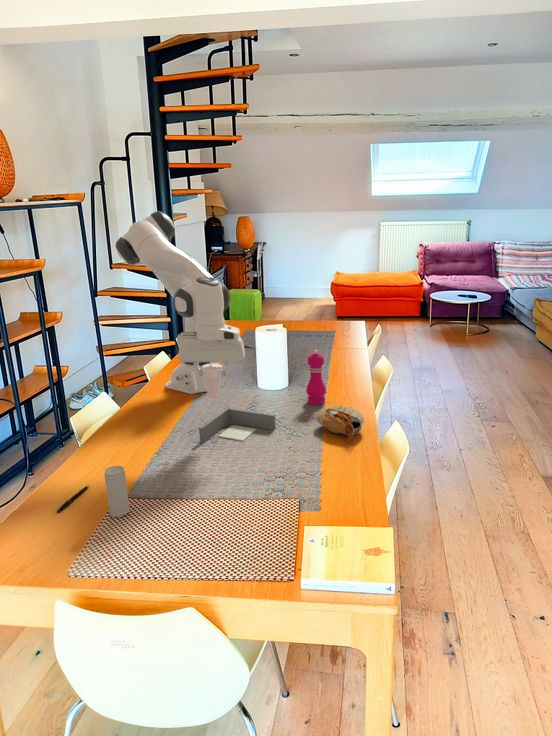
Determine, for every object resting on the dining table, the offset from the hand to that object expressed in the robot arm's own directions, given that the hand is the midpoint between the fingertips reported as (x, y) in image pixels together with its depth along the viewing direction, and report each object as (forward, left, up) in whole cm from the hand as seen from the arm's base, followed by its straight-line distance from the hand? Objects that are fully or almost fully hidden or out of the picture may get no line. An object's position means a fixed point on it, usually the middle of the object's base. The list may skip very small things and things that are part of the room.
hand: (212, 375), depth 173 cm
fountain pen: (-16, -47, -22) cm, 54 cm away
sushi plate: (-50, +94, -22) cm, 108 cm away
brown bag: (+37, +16, -21) cm, 45 cm away
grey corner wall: (+6, +3, -21) cm, 22 cm away
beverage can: (0, -48, -21) cm, 52 cm away
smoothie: (0, 0, -7) cm, 7 cm away
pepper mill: (+19, +39, -21) cm, 49 cm away
